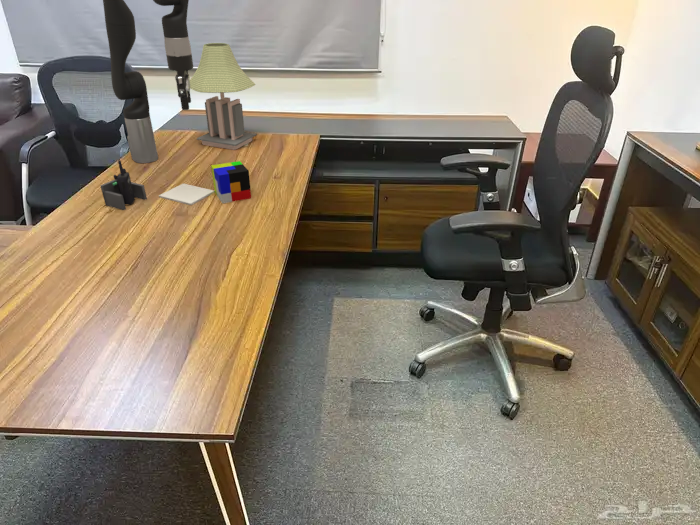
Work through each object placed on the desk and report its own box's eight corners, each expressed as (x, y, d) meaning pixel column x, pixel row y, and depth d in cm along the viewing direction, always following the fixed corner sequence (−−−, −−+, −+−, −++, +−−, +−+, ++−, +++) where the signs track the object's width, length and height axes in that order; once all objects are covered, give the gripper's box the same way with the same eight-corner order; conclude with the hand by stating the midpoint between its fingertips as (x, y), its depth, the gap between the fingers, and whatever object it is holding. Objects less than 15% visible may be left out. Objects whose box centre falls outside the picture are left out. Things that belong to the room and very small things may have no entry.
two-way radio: (133, 205, 161) (122, 161, 153) (118, 206, 160) (107, 162, 152) (136, 198, 165) (126, 155, 157) (122, 199, 164) (111, 156, 157)
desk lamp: (183, 147, 210) (166, 46, 189) (221, 130, 232) (210, 38, 211) (234, 156, 202) (222, 52, 181) (269, 137, 224) (262, 42, 203)
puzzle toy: (222, 203, 163) (218, 175, 158) (214, 192, 171) (211, 165, 165) (251, 198, 167) (248, 170, 162) (242, 187, 175) (239, 161, 169)
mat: (159, 197, 166) (158, 195, 166) (183, 184, 176) (183, 183, 175) (191, 205, 161) (190, 203, 161) (214, 192, 171) (214, 190, 170)
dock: (105, 205, 160) (100, 185, 157) (129, 194, 168) (124, 175, 164) (123, 210, 157) (118, 190, 154) (146, 198, 165) (142, 179, 161)
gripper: (168, 48, 156) (176, 100, 164) (163, 56, 144) (172, 112, 153) (192, 48, 157) (199, 100, 166) (189, 56, 145) (197, 111, 154)
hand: (186, 106), depth 159 cm, fingers open, 8 cm apart
